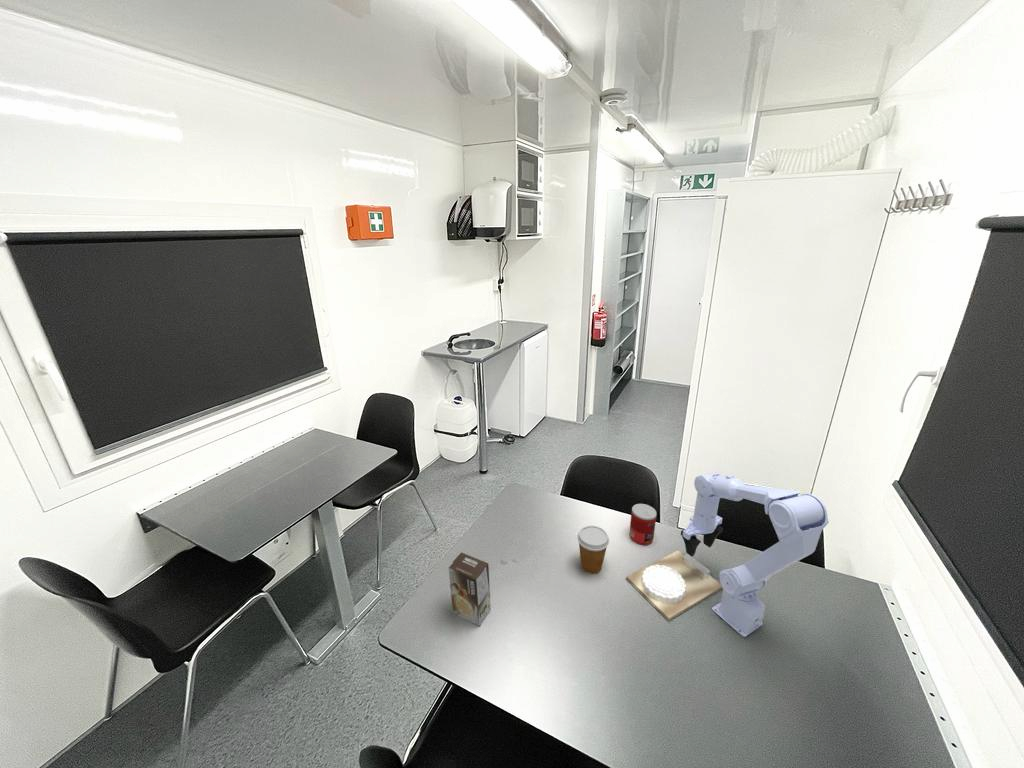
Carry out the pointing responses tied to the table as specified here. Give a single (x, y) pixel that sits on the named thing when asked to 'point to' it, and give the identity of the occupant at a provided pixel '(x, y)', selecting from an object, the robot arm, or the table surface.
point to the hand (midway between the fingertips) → (698, 549)
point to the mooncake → (663, 584)
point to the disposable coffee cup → (592, 548)
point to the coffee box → (470, 588)
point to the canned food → (642, 524)
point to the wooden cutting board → (695, 580)
